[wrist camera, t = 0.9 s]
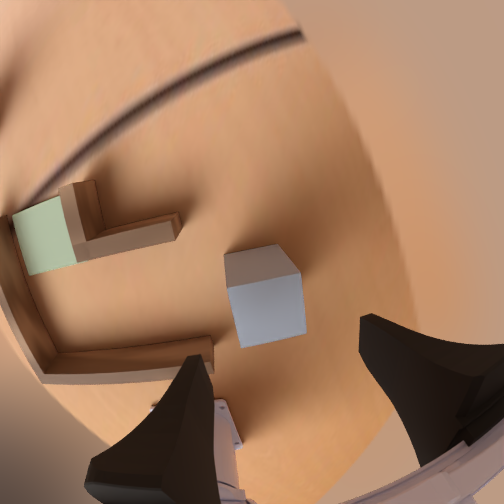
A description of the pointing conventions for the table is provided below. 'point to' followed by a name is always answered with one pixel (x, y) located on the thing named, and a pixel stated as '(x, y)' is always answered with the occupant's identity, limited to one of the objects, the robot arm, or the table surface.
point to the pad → (44, 237)
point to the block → (265, 295)
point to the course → (85, 248)
